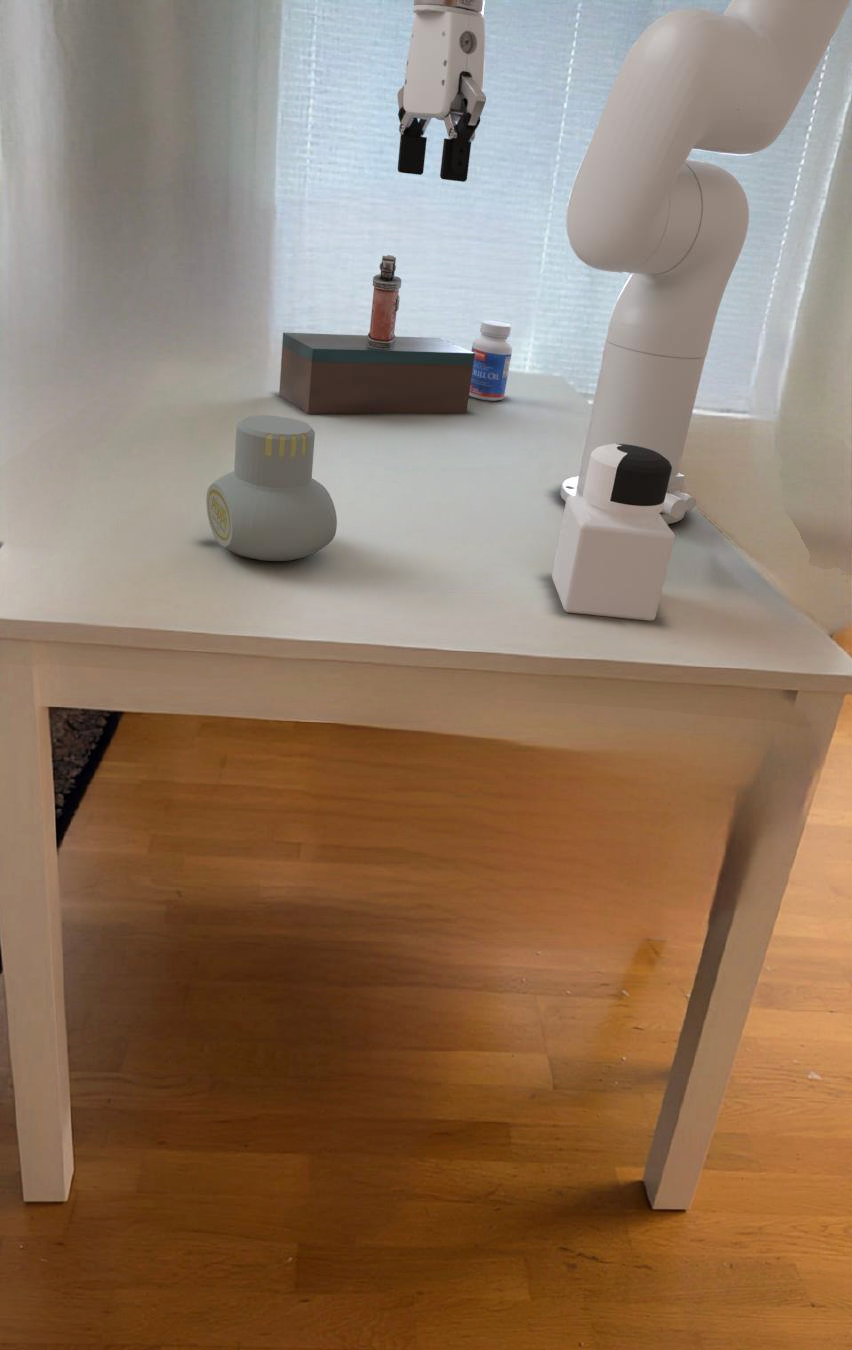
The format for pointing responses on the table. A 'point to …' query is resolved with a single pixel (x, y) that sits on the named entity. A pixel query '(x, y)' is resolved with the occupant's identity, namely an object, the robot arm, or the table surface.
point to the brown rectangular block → (374, 375)
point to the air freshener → (272, 494)
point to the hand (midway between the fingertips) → (431, 177)
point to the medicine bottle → (616, 536)
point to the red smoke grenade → (384, 305)
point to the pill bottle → (491, 361)
